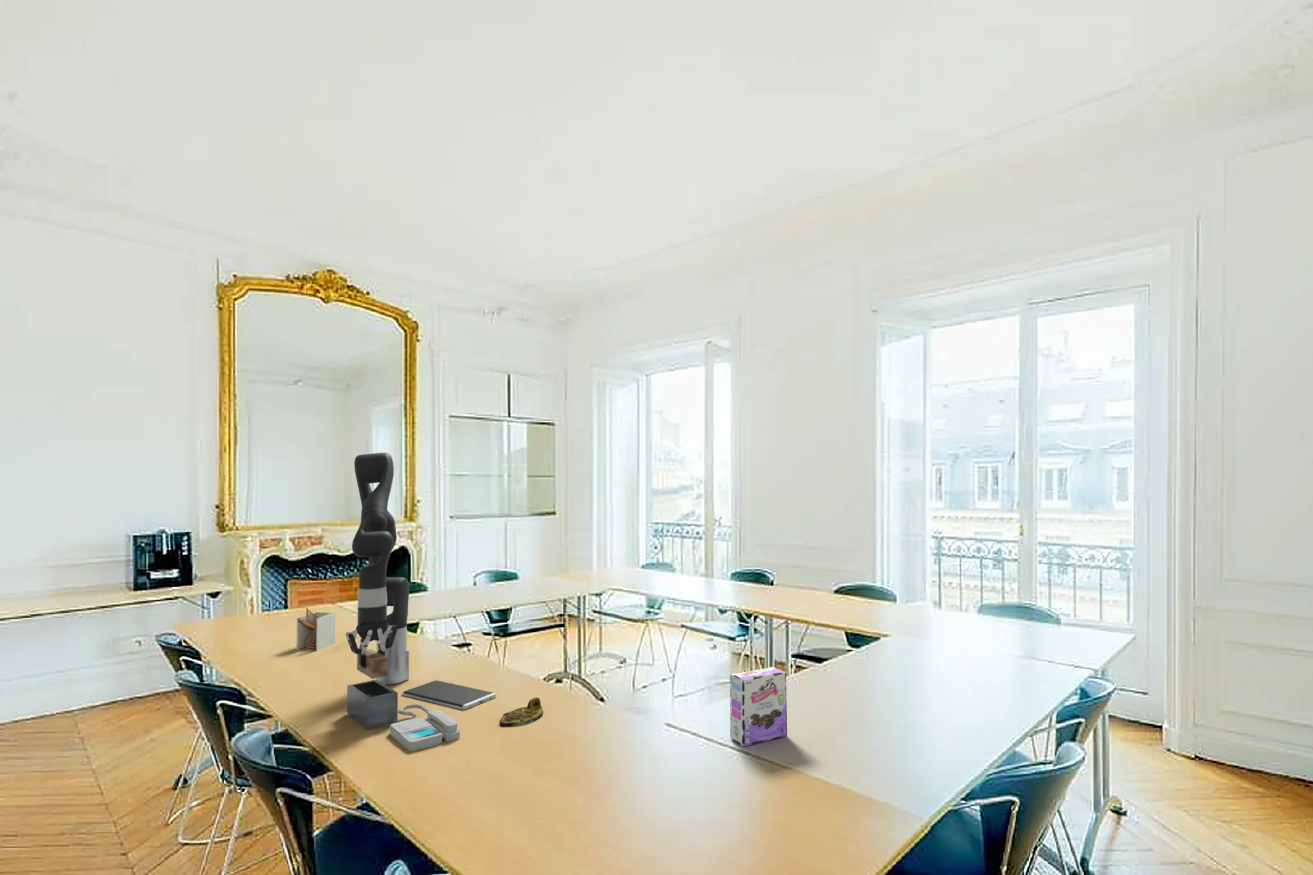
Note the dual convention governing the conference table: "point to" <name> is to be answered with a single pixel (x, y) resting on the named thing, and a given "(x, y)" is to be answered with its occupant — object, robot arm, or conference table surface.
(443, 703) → the smartphone
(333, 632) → the staircase
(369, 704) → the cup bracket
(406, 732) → the intercom
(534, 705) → the seal
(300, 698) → the conference table surface
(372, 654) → the brown rectangular block
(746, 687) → the candy box
